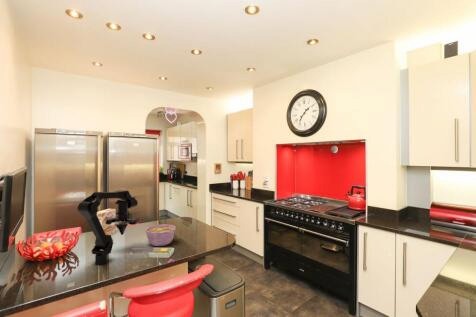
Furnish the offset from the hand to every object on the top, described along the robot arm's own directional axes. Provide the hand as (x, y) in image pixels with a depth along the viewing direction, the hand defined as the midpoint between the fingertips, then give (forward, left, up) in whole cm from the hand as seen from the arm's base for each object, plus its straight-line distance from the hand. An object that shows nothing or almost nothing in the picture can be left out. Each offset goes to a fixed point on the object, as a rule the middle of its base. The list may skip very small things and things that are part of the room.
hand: (122, 234), depth 145 cm
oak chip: (-3, -23, -11) cm, 26 cm away
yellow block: (-3, -27, -11) cm, 30 cm away
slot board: (-3, -12, -12) cm, 18 cm away
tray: (-3, -26, -12) cm, 29 cm away
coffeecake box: (+34, +31, -12) cm, 48 cm away
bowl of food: (+16, -19, -12) cm, 28 cm away
